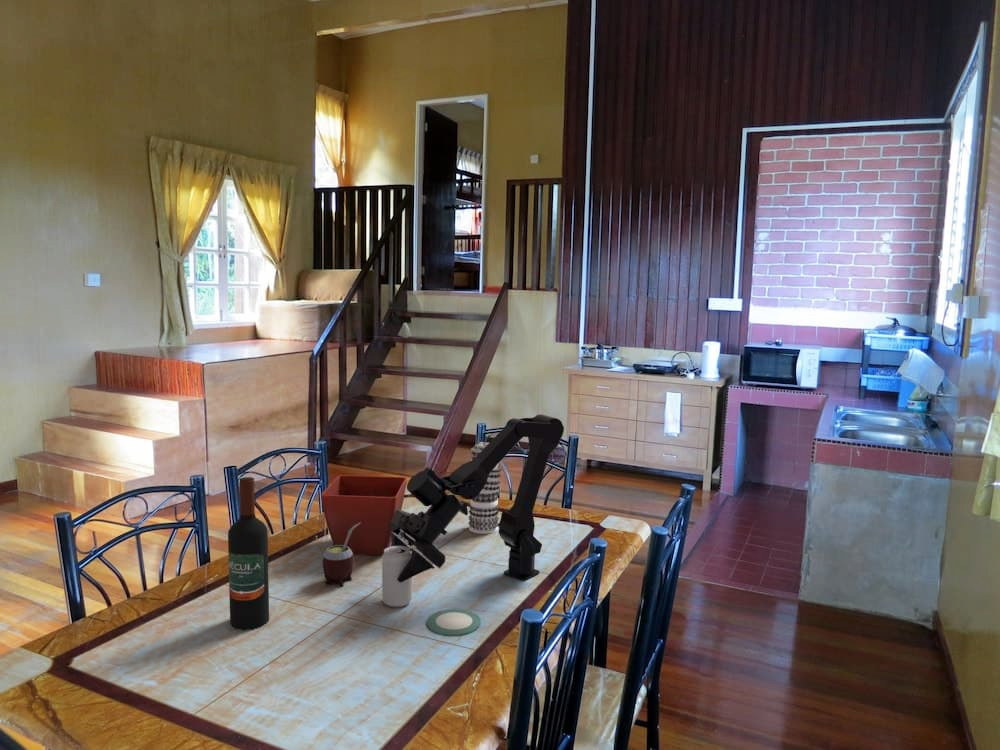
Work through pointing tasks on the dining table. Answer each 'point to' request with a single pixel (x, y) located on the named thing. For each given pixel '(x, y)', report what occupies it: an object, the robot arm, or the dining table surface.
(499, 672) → the dining table surface
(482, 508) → the decorative candle
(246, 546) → the wine bottle
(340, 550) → the mate gourd
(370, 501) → the plant pot
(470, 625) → the coaster
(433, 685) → the dining table surface
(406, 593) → the beverage can
